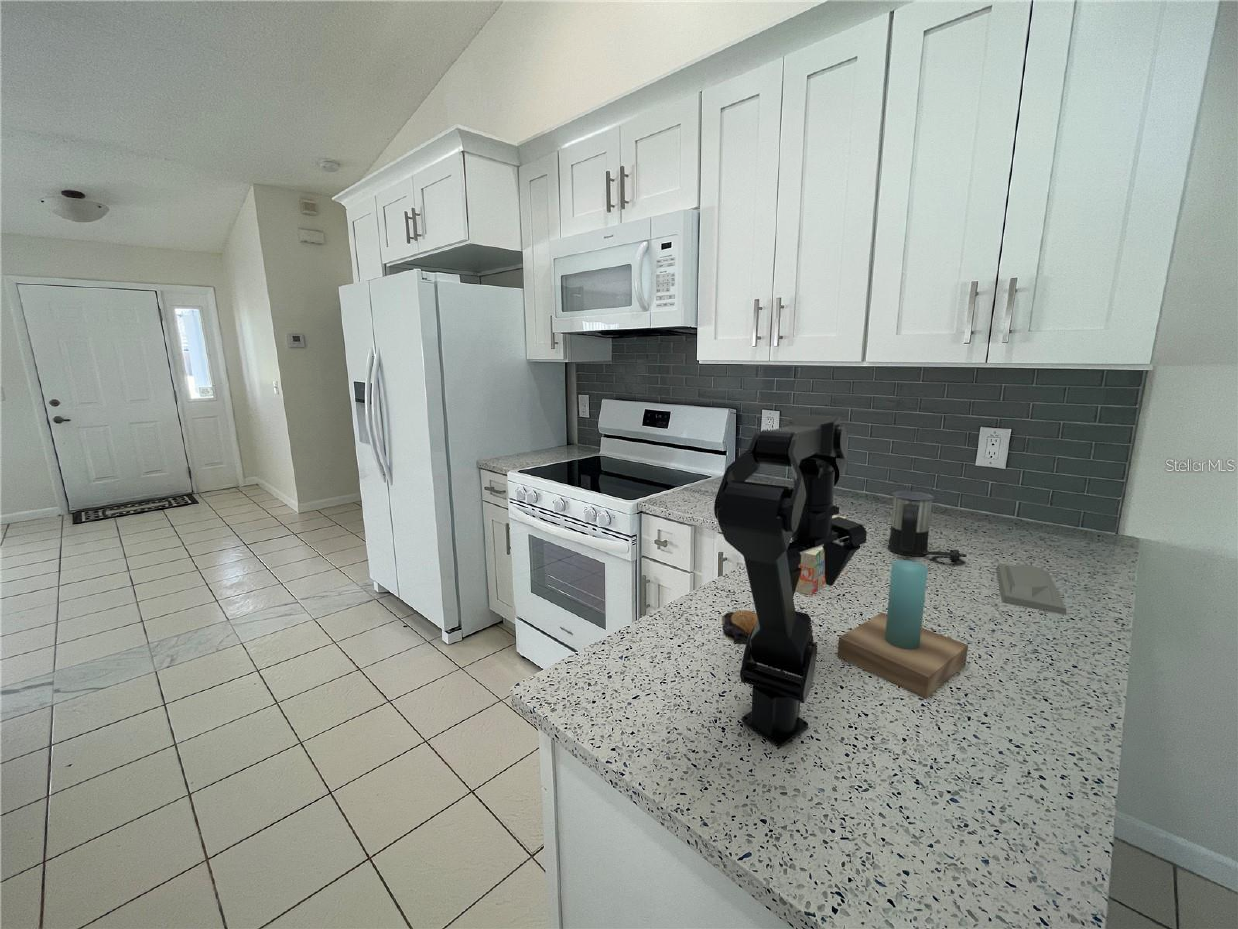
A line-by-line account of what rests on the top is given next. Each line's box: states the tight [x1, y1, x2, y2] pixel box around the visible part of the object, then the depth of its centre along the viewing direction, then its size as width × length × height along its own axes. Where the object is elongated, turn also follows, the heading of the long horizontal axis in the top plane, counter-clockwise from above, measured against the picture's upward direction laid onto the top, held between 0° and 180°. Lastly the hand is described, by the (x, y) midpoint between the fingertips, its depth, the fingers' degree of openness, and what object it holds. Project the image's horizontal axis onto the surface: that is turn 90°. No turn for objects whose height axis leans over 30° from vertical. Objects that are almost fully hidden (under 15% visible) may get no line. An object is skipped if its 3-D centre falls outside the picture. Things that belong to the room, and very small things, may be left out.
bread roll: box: [721, 609, 758, 646], centre depth 96 cm, size 11×8×4 cm
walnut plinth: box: [837, 612, 969, 699], centre depth 86 cm, size 14×14×4 cm
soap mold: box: [995, 563, 1067, 616], centre depth 111 cm, size 10×20×4 cm, turn 148°
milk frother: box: [887, 490, 967, 561], centre depth 130 cm, size 14×16×15 cm
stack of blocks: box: [795, 514, 847, 596], centre depth 118 cm, size 21×6×12 cm, turn 141°
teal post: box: [885, 559, 929, 649], centre depth 84 cm, size 5×5×13 cm
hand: (808, 593), depth 82 cm, fingers open, 9 cm apart
